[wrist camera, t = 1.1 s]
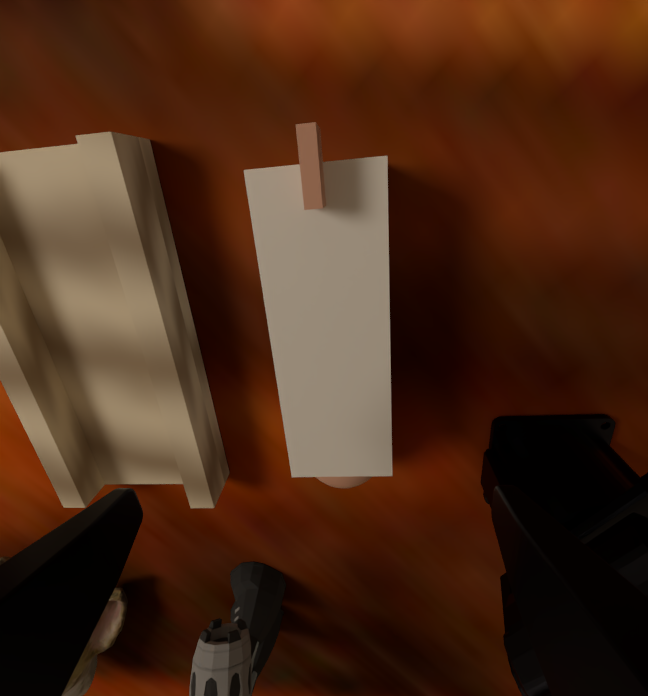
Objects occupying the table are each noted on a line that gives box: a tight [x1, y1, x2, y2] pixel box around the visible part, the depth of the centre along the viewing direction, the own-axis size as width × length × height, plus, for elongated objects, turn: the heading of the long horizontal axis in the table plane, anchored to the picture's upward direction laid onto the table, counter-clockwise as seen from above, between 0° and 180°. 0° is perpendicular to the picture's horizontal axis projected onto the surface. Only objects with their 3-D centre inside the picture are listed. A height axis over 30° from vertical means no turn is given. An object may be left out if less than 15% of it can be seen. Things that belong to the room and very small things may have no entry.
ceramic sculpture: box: [0, 556, 128, 696], centre depth 30 cm, size 11×9×15 cm
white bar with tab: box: [244, 122, 392, 488], centre depth 17 cm, size 17×5×6 cm, turn 5°
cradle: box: [0, 132, 230, 508], centre depth 20 cm, size 20×10×3 cm, turn 5°
